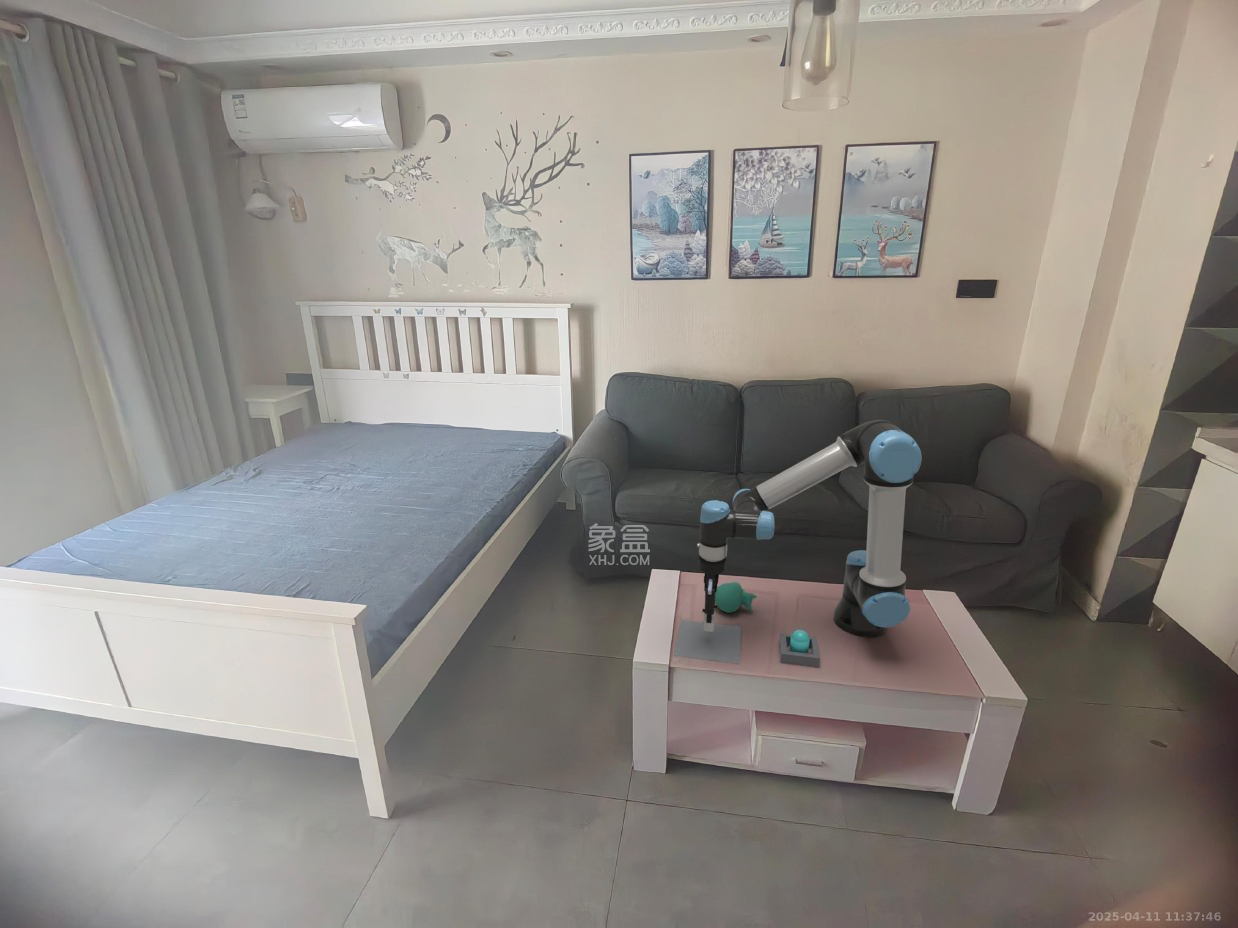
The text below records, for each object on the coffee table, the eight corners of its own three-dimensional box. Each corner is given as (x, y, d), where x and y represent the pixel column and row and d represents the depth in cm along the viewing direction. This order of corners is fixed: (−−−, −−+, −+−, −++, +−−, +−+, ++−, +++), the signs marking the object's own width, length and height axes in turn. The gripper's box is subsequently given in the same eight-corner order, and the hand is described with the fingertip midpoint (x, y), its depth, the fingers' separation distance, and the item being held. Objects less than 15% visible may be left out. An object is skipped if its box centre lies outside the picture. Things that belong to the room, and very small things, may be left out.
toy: (759, 588, 195) (713, 574, 199) (757, 587, 185) (709, 573, 190) (751, 619, 193) (705, 604, 198) (749, 620, 184) (701, 605, 189)
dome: (807, 648, 173) (809, 627, 170) (808, 659, 168) (811, 637, 166) (789, 646, 174) (791, 625, 171) (789, 656, 169) (791, 635, 167)
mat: (741, 627, 184) (741, 626, 183) (739, 664, 167) (739, 663, 167) (681, 620, 187) (681, 619, 187) (673, 656, 171) (673, 655, 170)
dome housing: (815, 645, 175) (816, 636, 174) (818, 667, 165) (819, 658, 164) (779, 641, 177) (780, 632, 176) (780, 663, 167) (781, 653, 166)
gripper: (700, 544, 175) (697, 615, 183) (696, 565, 163) (693, 641, 171) (727, 546, 173) (723, 618, 181) (725, 568, 161) (720, 644, 169)
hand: (708, 629), depth 176 cm, fingers closed
